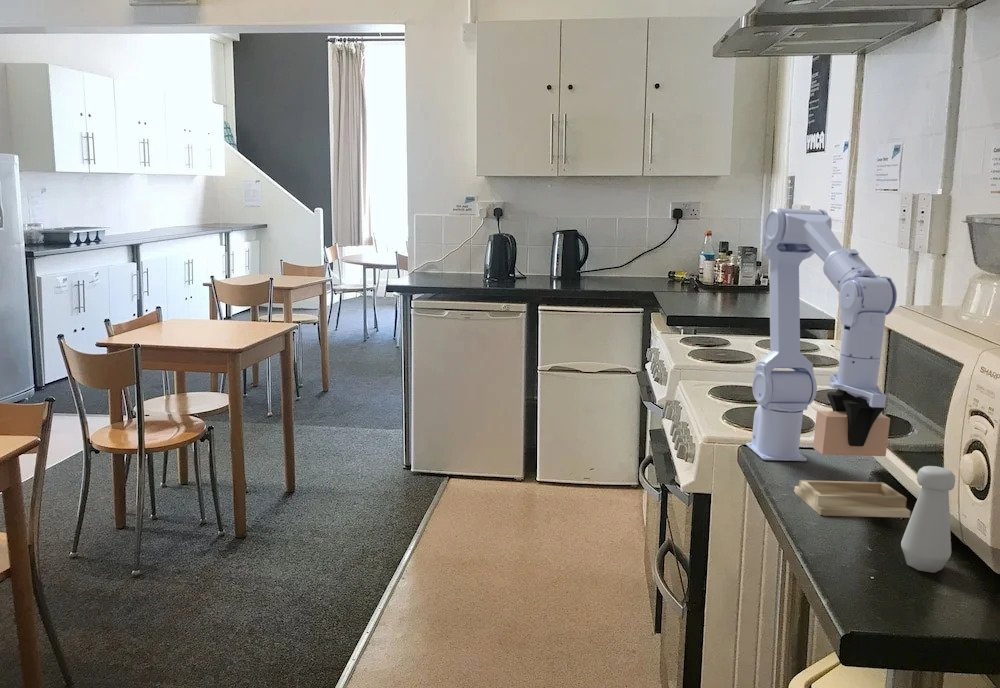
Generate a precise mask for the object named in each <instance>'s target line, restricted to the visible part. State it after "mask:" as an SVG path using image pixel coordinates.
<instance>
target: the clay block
mask: <svg viewBox="0 0 1000 688" xmlns="http://www.w3.org/2000/svg"><path fill="white" fill-rule="evenodd" d="M890 423H891V418H890V417H888V416H886V415H885V414H883V413H882V412H881V413H880V414H879V416H878V417H877V418H876V420H875V422H874V423H873V425H872V427H871V429H870V432H869V434H868V437H867V439H866V442H865V444H864V446H850V445H849V443H848V419H847V413H846V412H841V411H833V410H832V411H831V410H817V411H816V416H815V425H814V427H815V428H814V435H813V437H814V438H813V443H812V444H813V445H812V448H813V449H814V450H815V451H816V452H818V453H820V454H821V455H823V456H824V455H825V456H826V455H828V456H829V455H830V456H831V455H832V456H859V457H861V456H863V457H864V456H865V457H866V456H869V457H886V456H887V455H886V454H887V450H888V449H887V448H888V439H889V431H890V425H891V424H890Z"/></svg>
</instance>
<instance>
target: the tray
mask: <svg viewBox="0 0 1000 688" xmlns="http://www.w3.org/2000/svg"><path fill="white" fill-rule="evenodd" d="M793 491H794V492H795V493H794V492H793V493H794V494H795V495H796V496H798V497H799V498H800V499H801V500H802V501H803V502H805V504H807V505H808V506H809V507H810V508H811V509H813V510H814V512H816V513H817V514H818V515H819V516H820V515H823V517H824V516H825V517H826V516H827V517H828V516H829V517H831V516H832V517H833V516H834V517H869V518H870V517H871V518H905V519H906V518H908V519H910V517H911V514H912V511H911V510H910V509H908V508H907V502H908V499H907V497H906V496H905V495H903V494H902V493H900V492H899V491H897V490H896V489H894V488H893V487H892V486H889V484H887V483H885V482H883V481H882V482H881V481H880V482H879V481H850V480H849V481H846V480H845V481H844V480H843V481H842V480H812V479H811V480H808V479H806V480H804V479H799V481H798V485H795V486H794V490H793Z"/></svg>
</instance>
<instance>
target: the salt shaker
mask: <svg viewBox="0 0 1000 688" xmlns="http://www.w3.org/2000/svg"><path fill="white" fill-rule="evenodd" d="M916 481H917V483H918V485H919V486H920V487H921V489H920V491H919V494H918V497H917V500H916V502H915V504H914V507H913V510H912V511H911V514H910V518H909V521H908V522H907V525H906V528H905V531H904V534H903V535H902V539H901V542H900V547H901V550H902V552H903V555H904V559H905V562H906V565H907V566H909V567H911V568H913V569H915V570H917V571H921V572H927V573H934V574H935V573H937V572H938V571H942V570H943V568H944V567H945V565H946V564H947V562H948V561H949V559H950V558H951V556H952V555H951V554H952V541H951V539H952V536H951V535H952V534H951V519H950V518H951V517H950V515H951V514H950V513H951V512H950V498H949V497H950V496H949V492H950V491H952V490H953V489H954V488H955V484H956V475H955V474H954V473H953V472H952V470H949V469H947V468H945V467H942V466H936V465H926V466H922V467H920V468H919V469H918V471H917V474H916Z"/></svg>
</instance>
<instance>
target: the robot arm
mask: <svg viewBox="0 0 1000 688" xmlns="http://www.w3.org/2000/svg"><path fill="white" fill-rule="evenodd" d="M832 221H833V220H832V216H830V215H829V214H828V212H827V211H826V210H824V209H820V208H819V209H816V210H815V209H798V208H797V209H796V208H782V207H773V208H772V209H770V211H769V212H768V213H767V215H766V218H765V219H764V221H763V225H762V242H763V244H762V248H763V256H764V257H766V258H767V259H768V260H769V261H768V262H769V263H768V265H769V266H768V267H769V274H768V275H769V276H768V277H769V333H770V335H769V336H770V337H769V338H770V339H769V341H770V342H769V346H770V349H769V350H770V352H768V353H767V354H766V355H765V356H764V357H762V358H760V360H758V361H757V362H756V364H755V368H754V369H755V370H754V377H753V380H752V389H751V390H752V394H753V398H754V399H755V400H756V402H757V404H758V406H757V407H756V408H755V411H754V415H753V424H752V425H753V426H752V434H751V442H746V443H745V445H746V446H747V447H748V448H749V449H750V450H752V451H753V453H755V454H756V455H758V457H759V458H761V459H762V460H764V461H791V462H807V460H808V459H807V457H806V456H805V455H803V454H802V453H800V442H801V434H802V433H801V432H802V425H803V424H802V423H803V415H804V411H806V410H808V408H809V407H808V406H810V405H811V404H812V403H813V402H814V400H815V398H816V396H817V392H818V391H817V390H818V386H817V385H818V384H817V380H816V378H815V377H816V376H815V374H814V373H815V372H814V364H813V362H811V361H810V360H809V359H808V358H807V357H806V356H805V355H803V354H802V352H801V325H800V324H801V322H800V321H801V320H800V319H801V317H800V316H801V313H800V312H801V311H800V307H801V305H800V265H801V264H802V262H803V261H804V260H806V259H809V258H811V257H812V256H813V255H814V254H816V255H817V256H818V257H819V259H820V260H821V261H822V262H823V267H822V270H823V274H824V276H826V278H827V279H828V281H829V282H830V283H831V284H832V285H833V288H835V289H836V290H837V292H838V297H837V298H838V305H839V308H840V309H839V310H840V324H841V325H843V328H842V336H841V345H840V354H839V360H838V361H839V362H838V363H839V364H838V371H837V374H836V373H830V375H829V384H828V385H829V387H830V388H832V389H835V390H836V391H829V392H827V393H826V395H827V399H828V401H829V403H830V406H831V408H832V411H841V412H846V413H847V419H848V443H849V445H850V446H864V444H865V442H866V439H867V437H868V434H869V432H870V429H871V427H872V425H873V423H874V422H875V420H876V418H877V417H878V416H879V414H880V413H881V414H882V412H884V410H885V407H886V400H887V395H886V394H885V393H884V392H883V391H882V390H881V388H880V387H879V386H878V382H879V373H880V366H881V357H882V350H883V349H882V348H883V341H884V335H885V334H884V331H885V324H886V317H887V316H888V315H889V314H891V313H892V311H894V309H895V307H896V304H897V299H898V293H897V292H898V291H897V288H896V285H895V282H893V280H892V278H891V277H888V276H880V275H879V274H878V275H877V274H876V273H874V271H873V270H872V269H871V267H869V265H867V263H866V262H865V261H864V260H863V259H862V257H860V255H859V254H860V253H859V252H858V250H857V249H855V248H853V249H852V248H847V247H846V248H844V247H843V246H842V244H841V243H840V241H839V240H838V238H837V236H836V235H835V234H834V232H833V231H832ZM774 369H790V370H774Z"/></svg>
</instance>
